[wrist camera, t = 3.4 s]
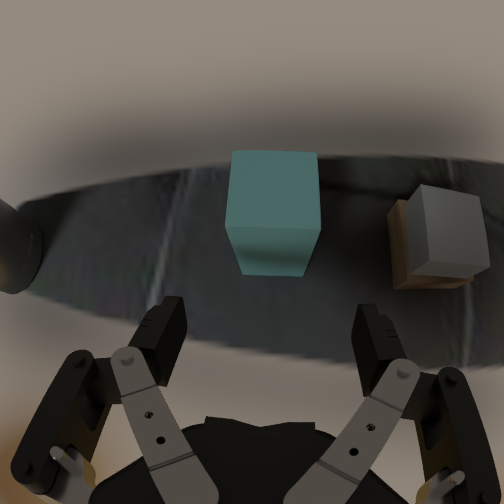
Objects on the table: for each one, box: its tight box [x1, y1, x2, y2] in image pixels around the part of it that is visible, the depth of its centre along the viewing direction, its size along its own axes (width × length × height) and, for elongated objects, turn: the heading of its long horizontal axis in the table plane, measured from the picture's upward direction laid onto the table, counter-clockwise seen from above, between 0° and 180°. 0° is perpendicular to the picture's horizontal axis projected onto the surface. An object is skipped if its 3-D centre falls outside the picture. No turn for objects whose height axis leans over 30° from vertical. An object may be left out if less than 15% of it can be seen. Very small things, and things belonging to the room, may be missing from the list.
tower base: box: [386, 200, 474, 289], centre depth 23 cm, size 7×7×4 cm
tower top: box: [405, 184, 490, 278], centre depth 20 cm, size 6×6×4 cm
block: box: [225, 150, 321, 276], centre depth 21 cm, size 5×5×10 cm
